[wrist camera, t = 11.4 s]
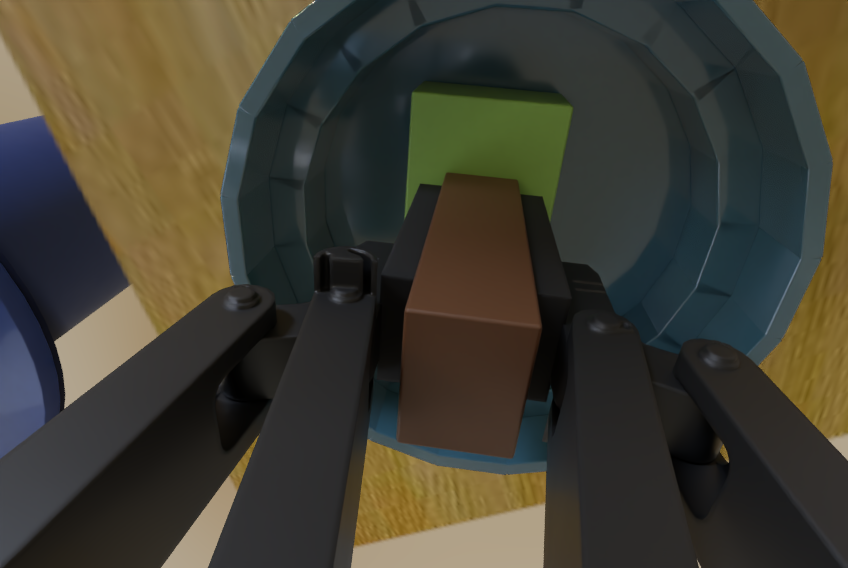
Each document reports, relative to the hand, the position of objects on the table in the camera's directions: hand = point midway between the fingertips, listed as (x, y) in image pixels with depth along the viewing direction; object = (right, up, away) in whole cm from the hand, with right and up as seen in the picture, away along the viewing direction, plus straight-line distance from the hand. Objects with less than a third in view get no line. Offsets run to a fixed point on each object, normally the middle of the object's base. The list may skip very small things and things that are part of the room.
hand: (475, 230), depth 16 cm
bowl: (+1, +2, +5) cm, 5 cm away
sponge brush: (0, +2, +3) cm, 4 cm away
